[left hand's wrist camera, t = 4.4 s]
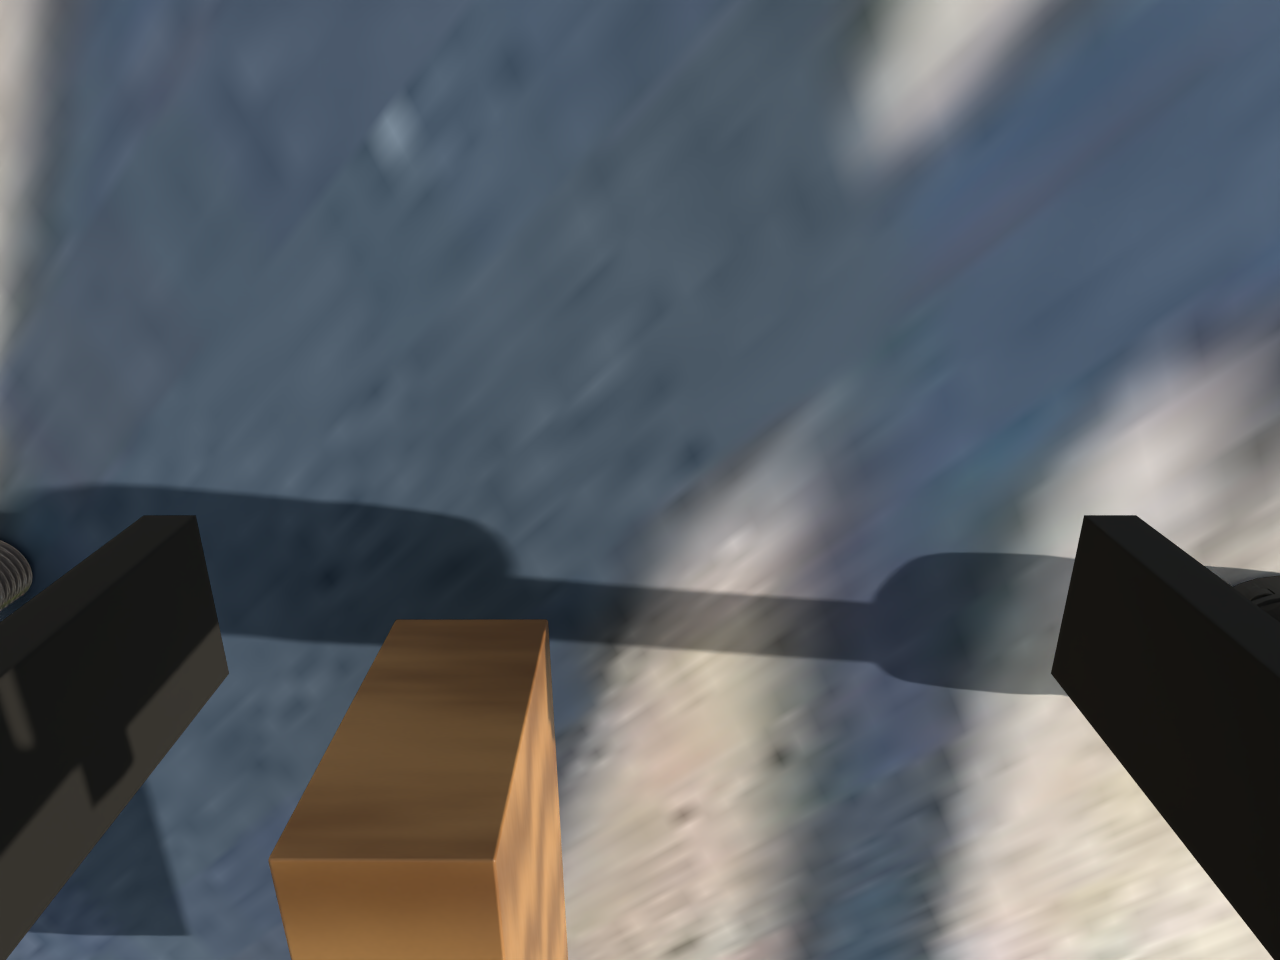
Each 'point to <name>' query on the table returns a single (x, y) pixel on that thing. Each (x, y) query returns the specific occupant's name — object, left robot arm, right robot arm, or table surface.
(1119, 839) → the table surface
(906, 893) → the table surface
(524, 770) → the box
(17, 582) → the light bulb
